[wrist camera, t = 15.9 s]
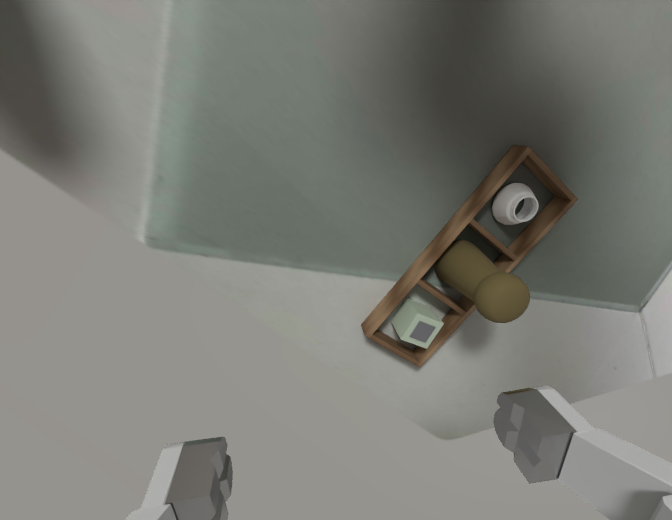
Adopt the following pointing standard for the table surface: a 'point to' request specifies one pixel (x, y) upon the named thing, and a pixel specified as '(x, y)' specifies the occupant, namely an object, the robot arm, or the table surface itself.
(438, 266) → the cork
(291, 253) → the table surface
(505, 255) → the organiser
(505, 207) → the lidless jar
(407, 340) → the cube with grey panel
